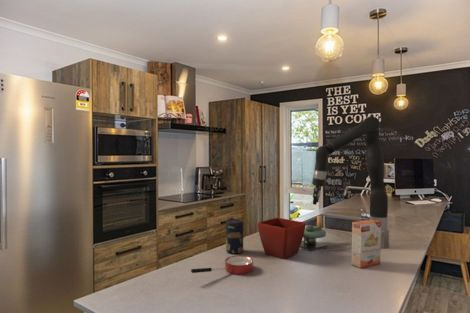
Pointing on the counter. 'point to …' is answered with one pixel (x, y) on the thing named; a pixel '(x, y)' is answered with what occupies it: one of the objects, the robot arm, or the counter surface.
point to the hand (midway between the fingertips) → (315, 203)
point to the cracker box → (366, 243)
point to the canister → (234, 236)
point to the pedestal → (311, 244)
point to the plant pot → (281, 236)
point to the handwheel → (315, 230)
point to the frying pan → (232, 266)
